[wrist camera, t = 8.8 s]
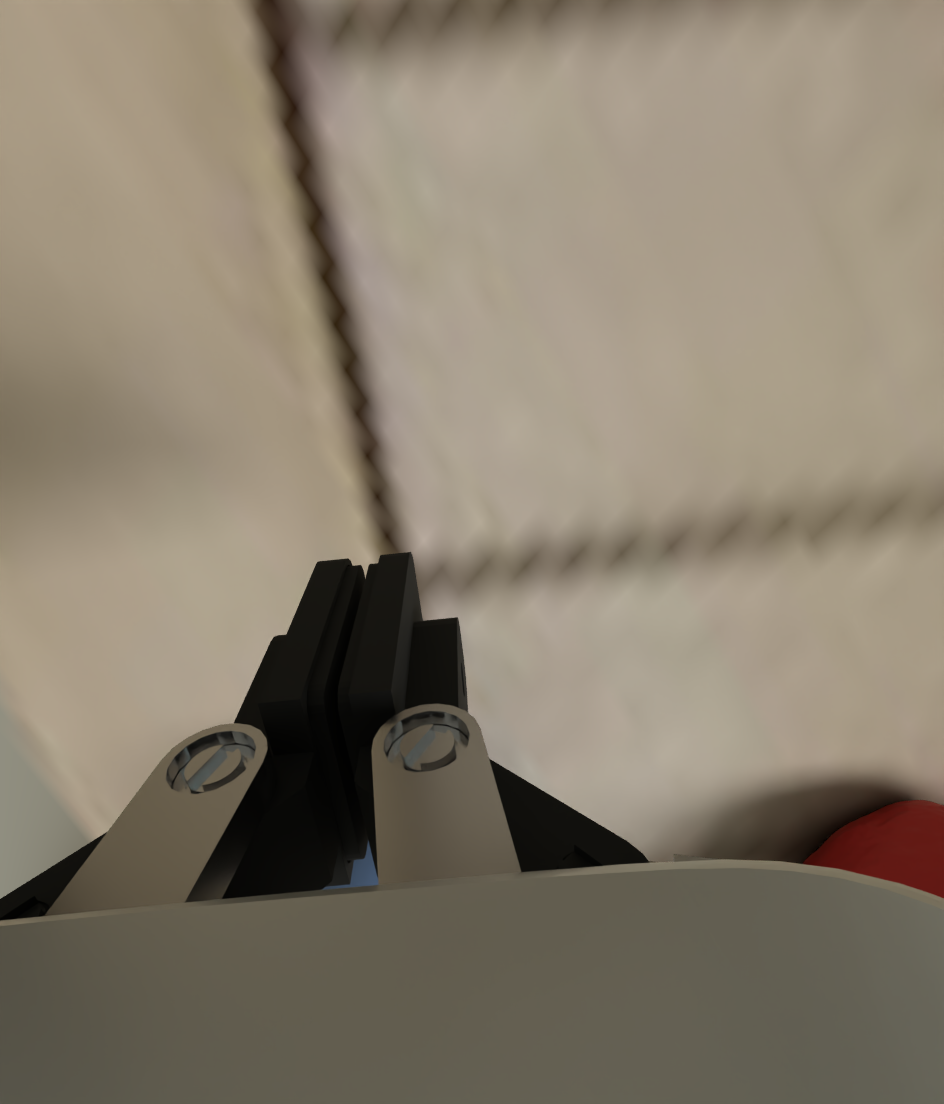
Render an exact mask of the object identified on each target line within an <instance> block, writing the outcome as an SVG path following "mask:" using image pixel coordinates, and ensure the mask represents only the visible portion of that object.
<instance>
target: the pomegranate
mask: <svg viewBox="0 0 944 1104" xmlns="http://www.w3.org/2000/svg"><path fill="white" fill-rule="evenodd" d="M803 864H806V865H813V866H821V867H829V868H836V869H842V870H846V871H850V872H854V873H858V874H863V875H867V876H871V877H875V878H879V879H883V880H888V881H892V882H896V883H900V884H903V885H906V886H909V887H912V888H915V889H919V890H922V891H925V892H928V893H931V894H934V895H936V896H939V897H941V898H944V805H940V804H937V803H934V802H930V801H925V800H911V801H901V802H896V803H893V804H890V805H887V806H885V807H883V808H880V809H879V810H877V811H874V812H872V813H871V814H868V815H865V816H862V817H860V818H859V819H857V820H855V821H853V822H850V823H848V824H847V825H845V826H844V827H842V828H840V829H839V830H837V831H836V832H835V833H833V834H832V835H831V836H830V837H829V838H828V839H827V840H826V841H825V842H824V844H823V845H822V846H821V847H820V848H819V849H818V850H816V851H815V852H814V853H812V854H811V855H810V856H809V857H808V858H807V859H806V860H805V861H804V862H803Z"/></svg>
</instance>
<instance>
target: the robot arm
mask: <svg viewBox="0 0 944 1104" xmlns="http://www.w3.org/2000/svg"><path fill="white" fill-rule="evenodd" d="M368 841H369V845H370V849H371V853H372V857H373V862H374V866H375V870H376V874H377V877H378V884H379V885H371V886H360V887H348V888H337V889H326V890H322V889H323V888H325V887H328V886H338V885H349V884H350V882H351V876H352V869H353V863H354V860H359V859H364V858H365V856H366V851H367V845H368ZM0 1104H944V898H941V897H939V896H936V895H934V894H931V893H928V892H925V891H922V890H919V889H915V888H912V887H909V886H906V885H903V884H900V883H896V882H892V881H888V880H883V879H879V878H875V877H871V876H867V875H863V874H858V873H854V872H850V871H846V870H842V869H836V868H829V867H821V866H813V865H806V864H798V863H790V862H782V861H759V860H730V859H713V858H704V857H695V856H686V855H677V854H674V856H673V862H652V861H648V860H647V859H646V857H645V856H644V855H643V853H641V852H640V851H639V850H638V849H636V848H635V847H634V846H632V845H631V844H630V843H629V842H627V841H626V840H624V839H622V838H621V837H619V836H617V835H616V834H614V833H612V832H611V831H609V830H607V829H606V828H604V827H602V826H601V825H599V824H597V823H596V822H594V821H592V820H591V819H589V818H587V817H586V816H584V815H582V814H581V813H579V812H577V811H576V810H574V809H572V808H571V807H569V806H567V805H566V804H564V803H562V802H561V801H559V800H557V799H556V798H554V797H552V796H551V795H549V794H547V793H546V792H544V791H542V790H541V789H539V788H537V787H536V786H534V785H532V784H531V783H529V782H527V781H526V780H524V779H522V778H521V777H519V776H517V775H516V774H514V773H512V772H510V771H509V770H507V769H505V768H504V767H502V766H500V765H499V764H497V763H495V762H494V761H492V760H490V759H489V757H488V753H487V750H486V746H485V743H484V739H483V736H482V732H481V729H480V727H479V725H478V723H477V722H476V720H475V718H474V717H472V716H471V715H470V714H469V713H468V705H467V688H466V676H465V666H464V657H463V649H462V641H461V633H460V626H459V620H458V617H457V618H447V619H437V620H427V621H423V619H422V613H421V606H420V600H419V593H418V587H417V580H416V574H415V568H414V562H413V557H412V554H411V552H407V553H397V554H388V555H380V558H379V562H378V563H377V564H369V567H368V571H367V575H366V579H365V575H364V571H363V568H362V566H361V565H357V566H352V563H351V561H350V560H349V559H339V560H329V561H319V562H317V564H316V566H315V568H314V571H313V573H312V575H311V578H310V580H309V582H308V585H307V587H306V589H305V592H304V594H303V597H302V599H301V601H300V604H299V606H298V608H297V611H296V613H295V615H294V618H293V620H292V623H291V625H290V627H289V630H288V632H287V634H286V635H278V636H275V637H274V638H273V639H272V641H271V642H270V645H269V647H268V649H267V651H266V653H265V656H264V658H263V660H262V662H261V664H260V667H259V669H258V671H257V673H256V675H255V678H254V680H253V682H252V684H251V686H250V689H249V691H248V693H247V695H246V697H245V700H244V702H243V704H242V706H241V708H240V711H239V713H238V715H237V717H236V719H235V722H234V724H224V725H218V726H215V727H212V728H208V729H205V730H202V731H200V732H198V733H196V734H194V735H192V736H190V737H188V738H186V739H185V740H183V741H182V742H181V743H179V744H178V745H176V746H175V747H174V748H172V749H171V751H170V752H169V753H168V754H167V755H166V756H165V757H164V758H163V759H162V760H161V761H160V763H159V764H158V765H157V767H156V768H155V769H154V771H153V772H152V773H151V775H150V776H149V777H148V779H147V780H146V781H145V783H144V784H143V785H142V787H141V788H140V789H139V791H138V792H137V793H136V795H135V796H134V797H133V799H132V800H131V801H130V803H129V804H128V805H127V807H126V808H125V809H124V811H123V812H122V813H121V815H120V816H119V817H118V819H117V820H116V821H115V823H114V824H113V825H112V827H111V828H110V829H109V831H108V832H106V833H105V834H103V835H102V836H100V837H98V838H97V839H95V840H94V841H92V842H90V843H89V844H87V845H86V846H84V847H82V848H81V849H79V850H78V851H76V852H74V853H73V854H71V855H70V856H68V857H66V858H65V859H63V860H62V861H60V862H58V863H57V864H55V865H54V866H52V867H51V868H49V869H48V870H46V871H44V872H43V873H41V874H39V875H38V876H36V877H35V878H33V879H31V880H30V881H28V882H27V883H25V884H23V885H22V886H20V887H19V888H17V889H16V890H14V891H12V892H11V893H9V894H7V895H6V896H4V897H3V898H1V899H0Z"/></svg>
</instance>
